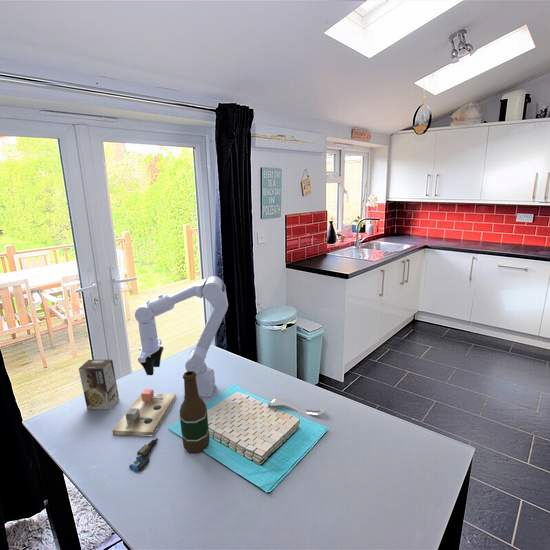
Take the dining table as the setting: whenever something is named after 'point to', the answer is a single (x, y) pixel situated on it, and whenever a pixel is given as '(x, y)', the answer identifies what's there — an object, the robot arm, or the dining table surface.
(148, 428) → the beige slider panel
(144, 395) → the block
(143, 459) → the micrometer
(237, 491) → the dining table surface
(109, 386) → the coffee box
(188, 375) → the beer bottle
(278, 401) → the stirrer
